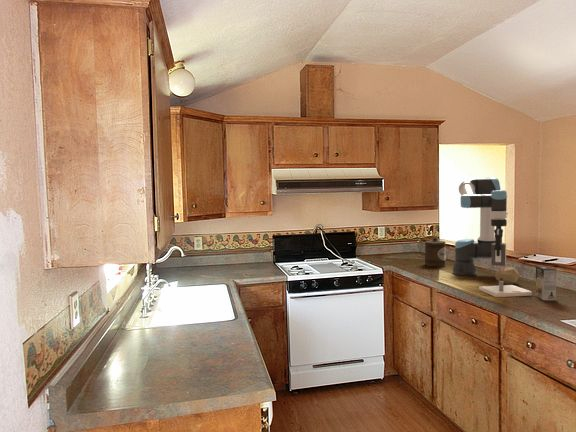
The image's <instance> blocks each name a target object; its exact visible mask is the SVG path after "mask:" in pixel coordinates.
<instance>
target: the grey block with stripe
mask: <svg viewBox="0 0 576 432" xmlns="http://www.w3.org/2000/svg"><path fill="white" fill-rule="evenodd" d="M494 249H495V243H492V244H491V259H490V261H491V263H490V264H491V266H501V267H502V266H503V267H506V265H507V243H505V242H502V243H501V262H495V250H494Z"/></svg>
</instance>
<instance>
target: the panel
mask: <svg viewBox="0 0 576 432" xmlns="http://www.w3.org/2000/svg"><path fill="white" fill-rule="evenodd" d="M478 289H479V291H481V292H483V293H486V294H488V295H491V296H492V297H495V298H502V297H503V298H504V297H506V298H507V297H524V296H525V297H526V296H527V297H528V296H533V291H531V290H528V289H525V288H523V287H520V286H517V285H514V284H504V282H503V281H498V285H483V286H480V285H479V287H478Z"/></svg>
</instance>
